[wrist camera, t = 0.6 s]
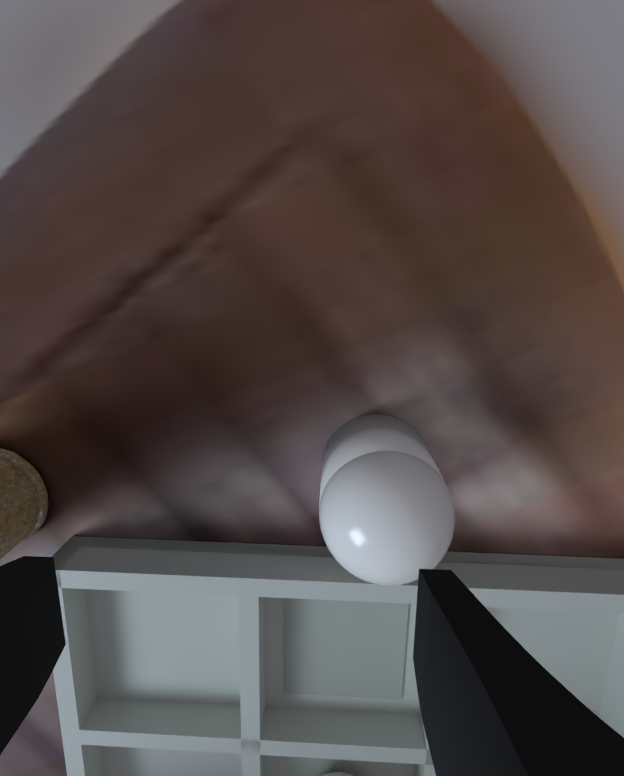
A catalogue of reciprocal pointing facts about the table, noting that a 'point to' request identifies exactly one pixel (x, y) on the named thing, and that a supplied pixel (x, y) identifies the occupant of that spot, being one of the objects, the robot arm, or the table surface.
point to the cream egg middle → (337, 774)
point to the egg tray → (292, 654)
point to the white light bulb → (383, 501)
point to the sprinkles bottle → (19, 500)
